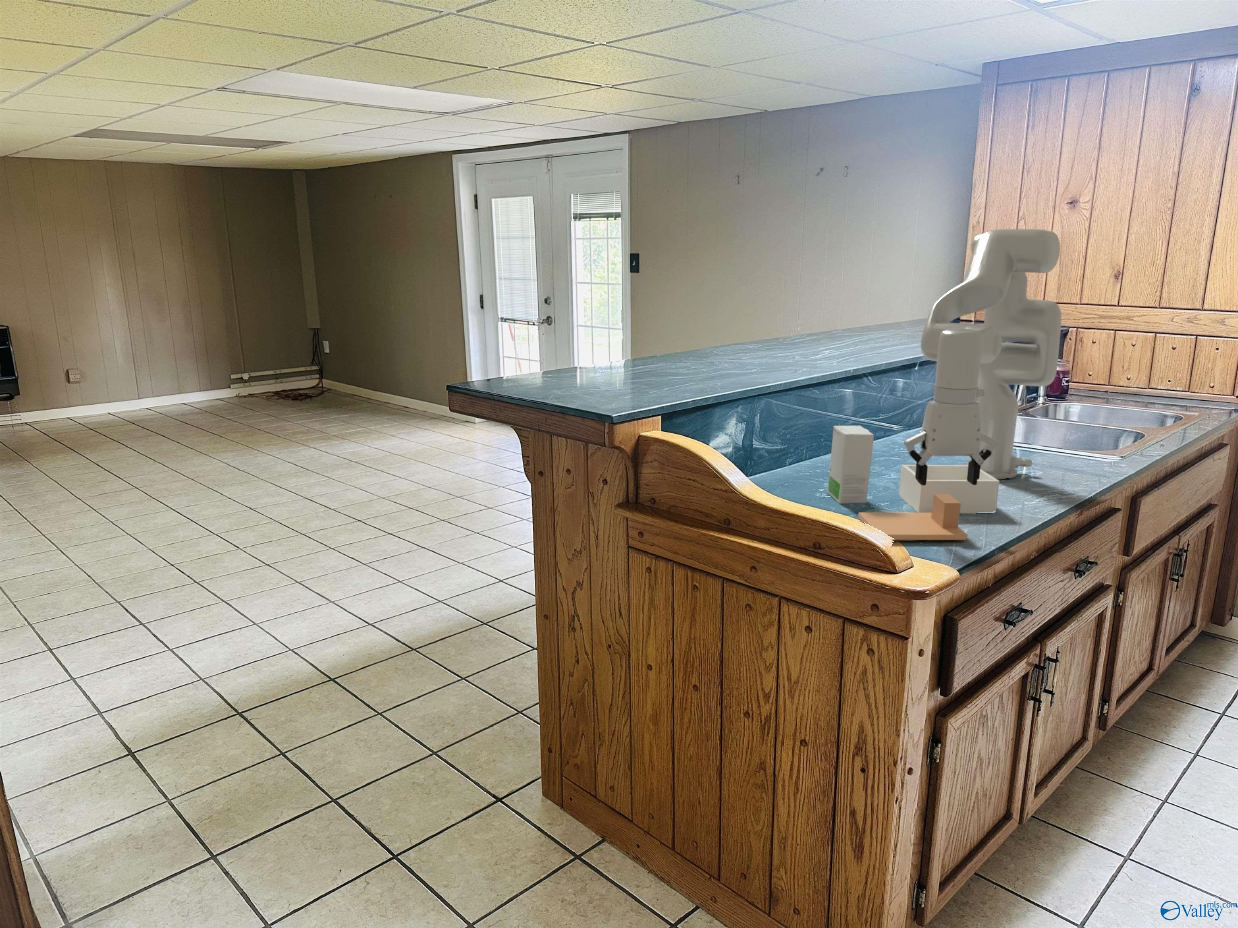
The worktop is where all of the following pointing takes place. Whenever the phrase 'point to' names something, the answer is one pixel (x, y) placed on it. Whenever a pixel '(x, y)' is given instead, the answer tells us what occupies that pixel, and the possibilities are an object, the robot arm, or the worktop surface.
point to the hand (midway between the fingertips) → (946, 483)
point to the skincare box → (850, 464)
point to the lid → (920, 522)
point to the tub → (949, 488)
